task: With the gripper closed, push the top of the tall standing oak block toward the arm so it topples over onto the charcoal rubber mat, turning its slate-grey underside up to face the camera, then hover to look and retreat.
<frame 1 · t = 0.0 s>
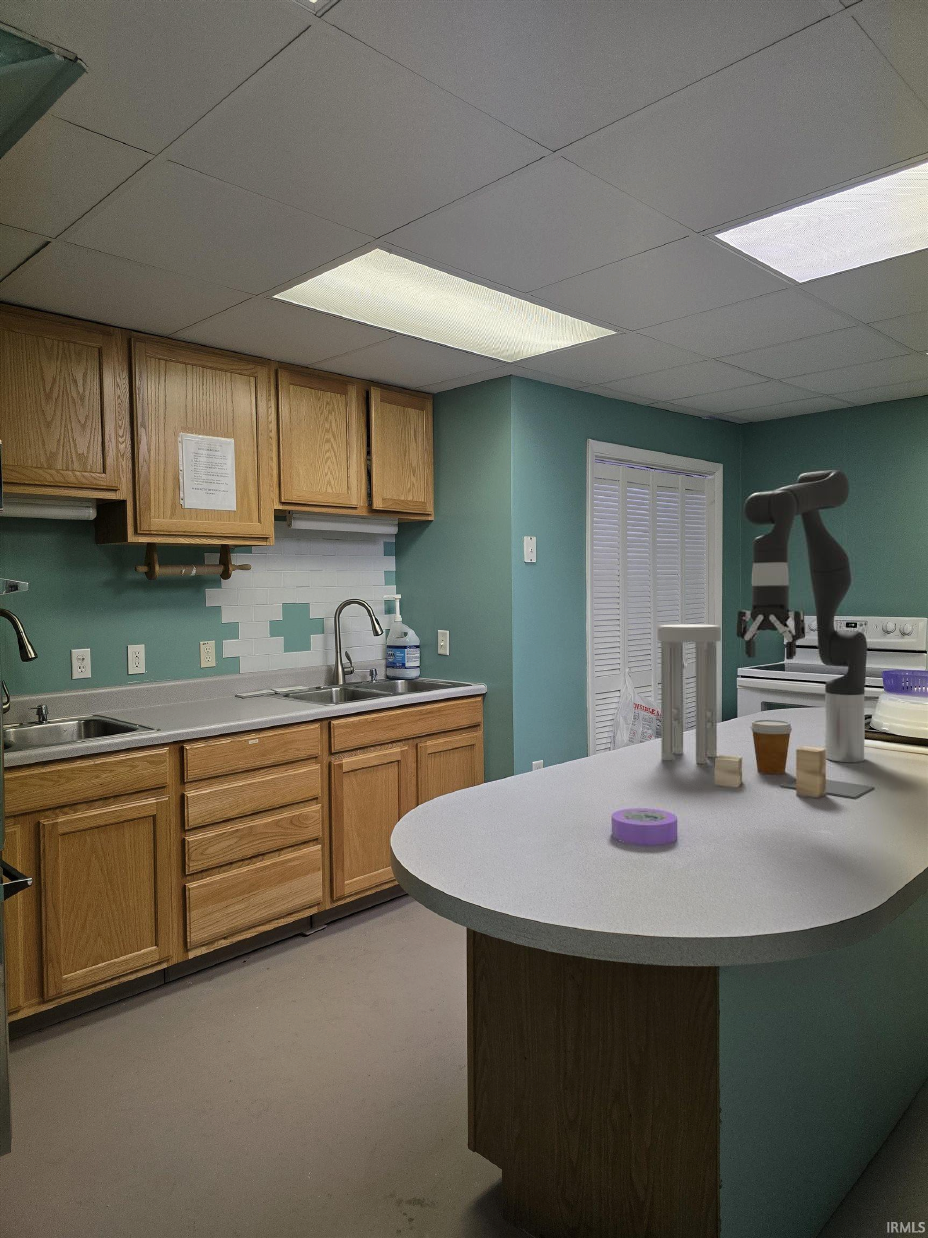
hand: (770, 658, 178), 29 cm above the table, tool pointing down, fingers open, 8 cm apart
stool: (689, 758, 216), on the table
disposable coffee cup: (771, 772, 198), on the table
mat: (826, 787, 182), on the table
maple block: (728, 783, 187), on the table
masking tape: (644, 837, 148), on the table
oak block: (810, 795, 175), on the table
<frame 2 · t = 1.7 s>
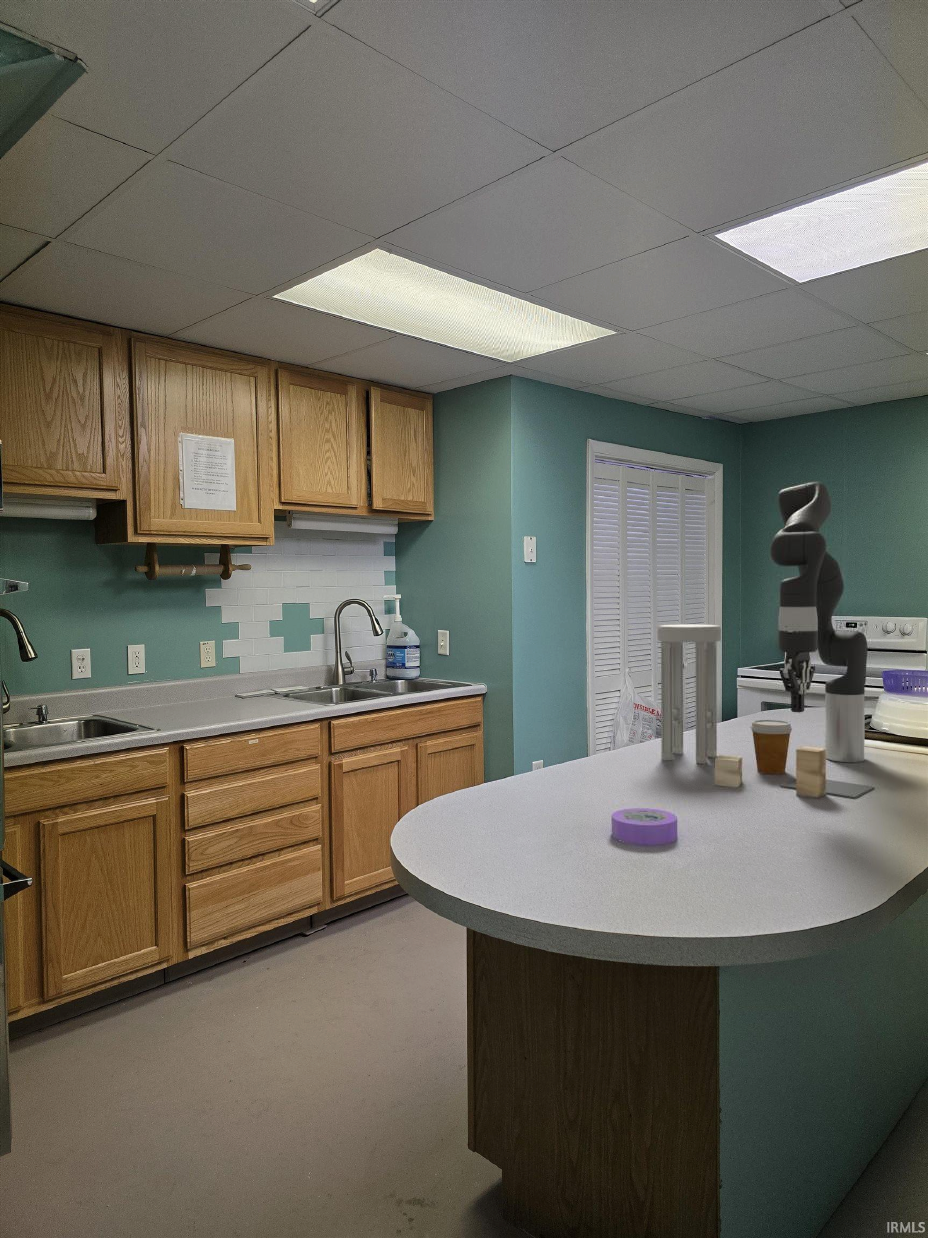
hand: (797, 711, 170), 19 cm above the table, tool pointing down, fingers closed
nothing on the table moved.
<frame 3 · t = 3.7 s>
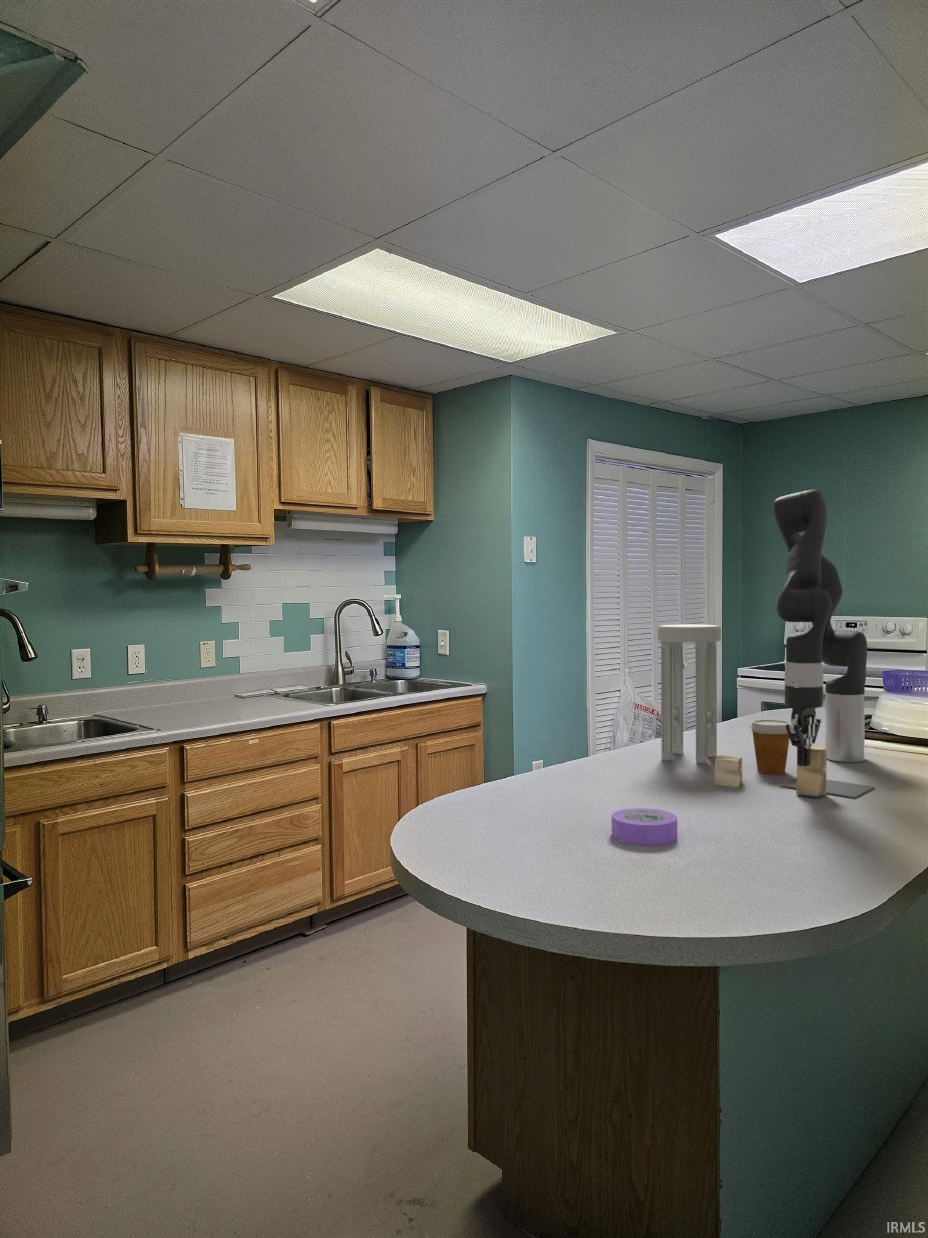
hand: (803, 765, 172), 7 cm above the table, tool pointing down, fingers closed
oak block: (810, 794, 175), on the table, touching gripper
everything else where it was.
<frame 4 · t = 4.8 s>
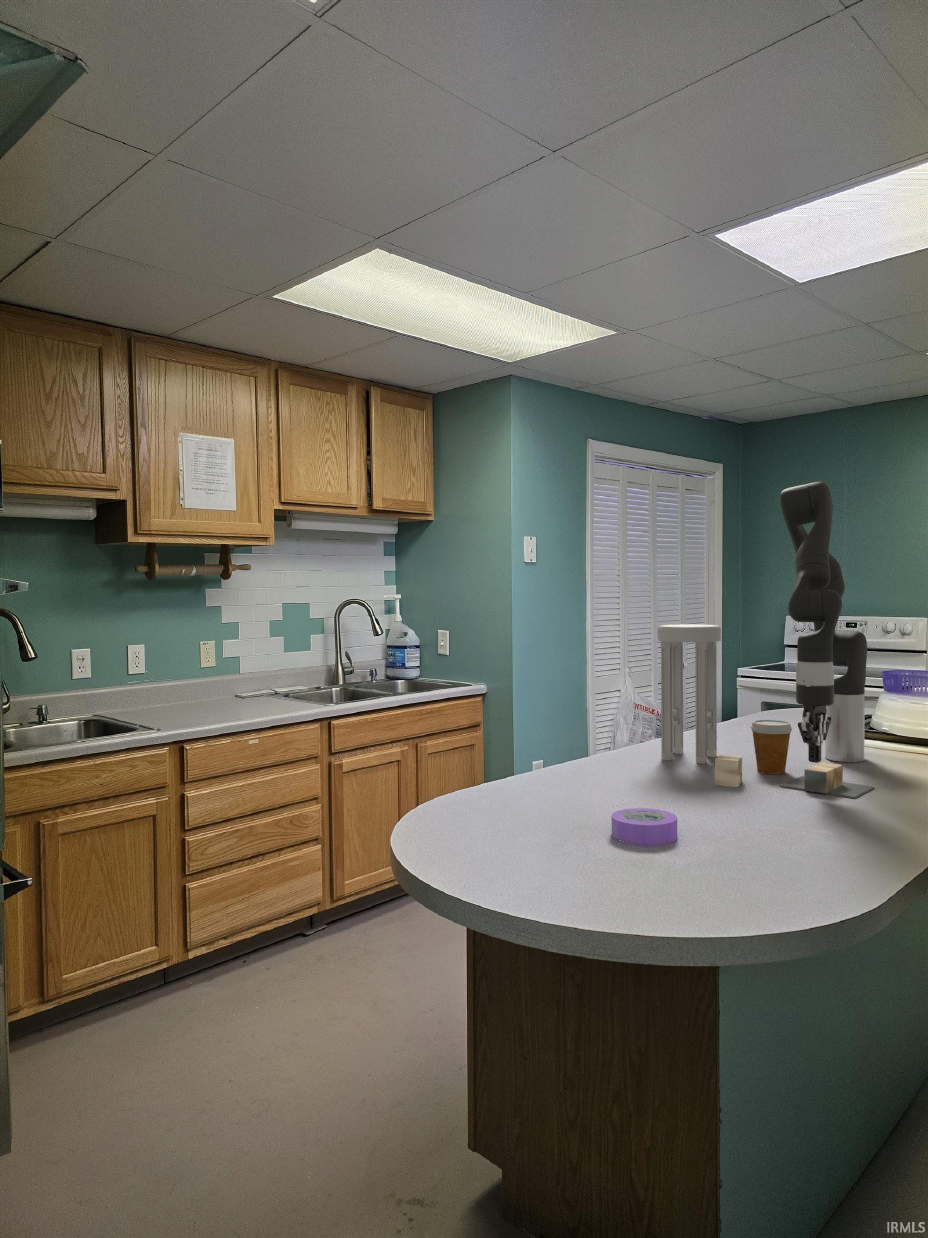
hand: (814, 761, 177), 7 cm above the table, tool pointing down, fingers closed
oak block: (814, 781, 177), point 3 cm above the table, tilted 90°, touching mat
everything else where it was.
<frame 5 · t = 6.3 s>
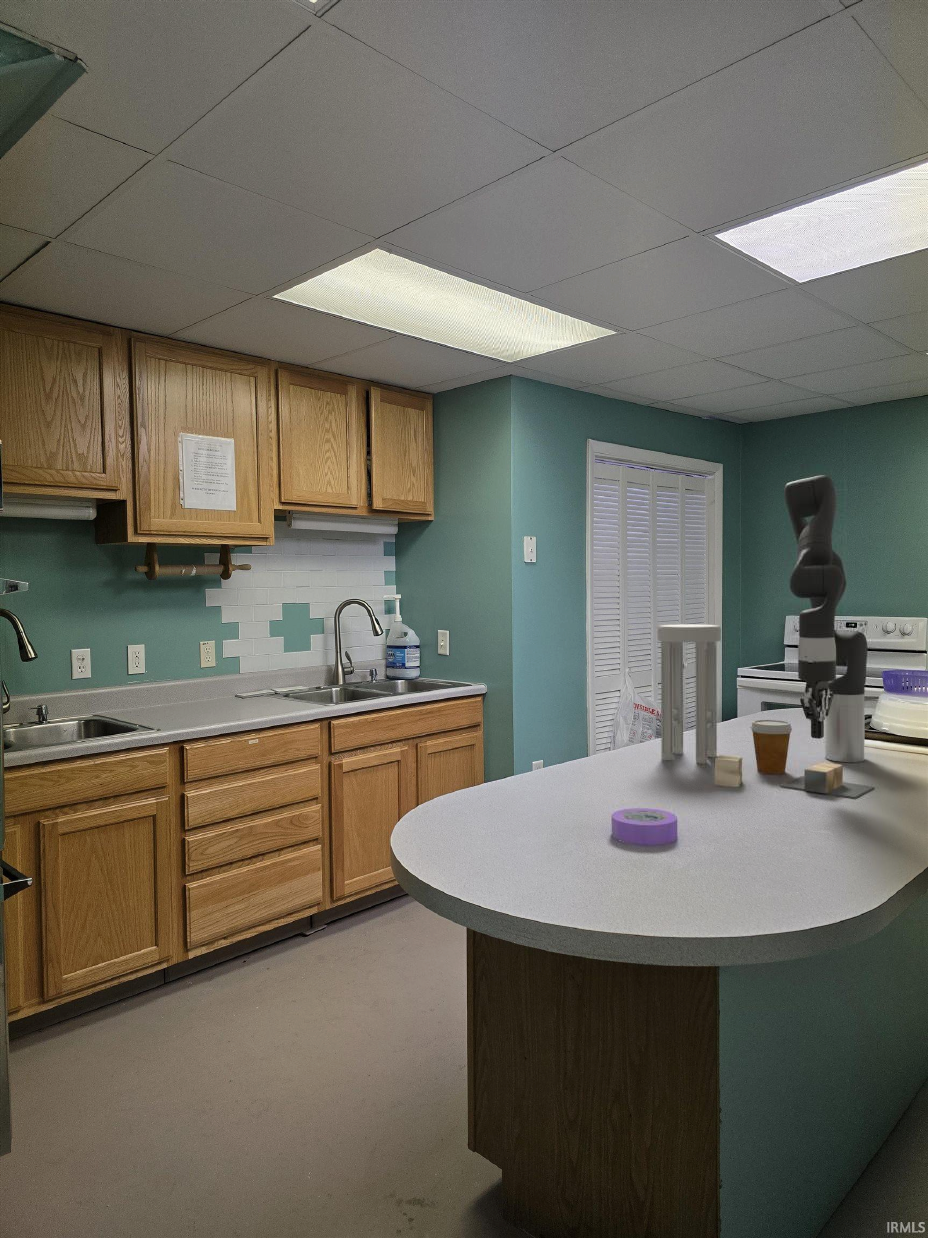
hand: (817, 737, 177), 12 cm above the table, tool pointing down, fingers closed
nothing on the table moved.
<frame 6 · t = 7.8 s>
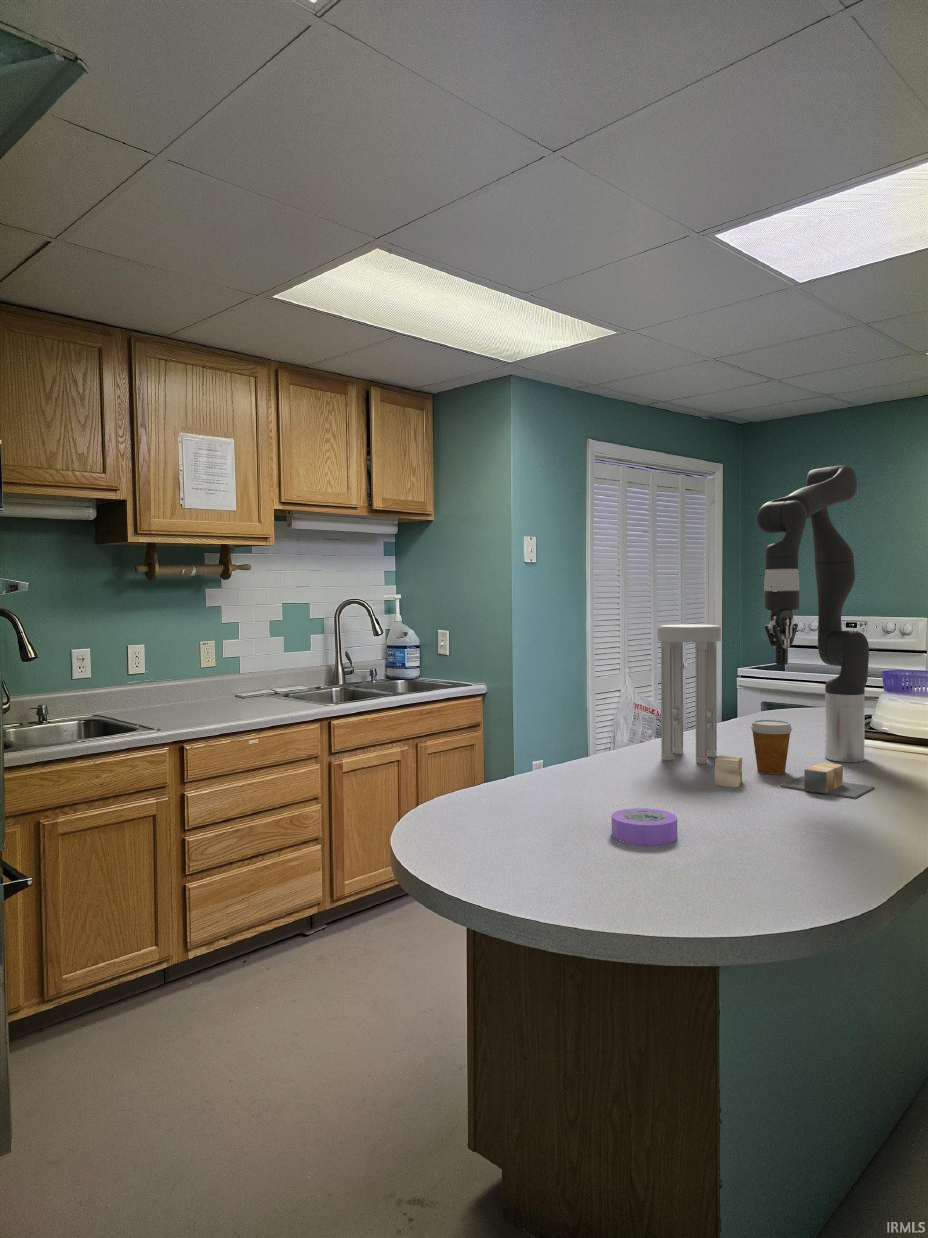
hand: (781, 664, 187), 27 cm above the table, tool pointing down, fingers closed
nothing on the table moved.
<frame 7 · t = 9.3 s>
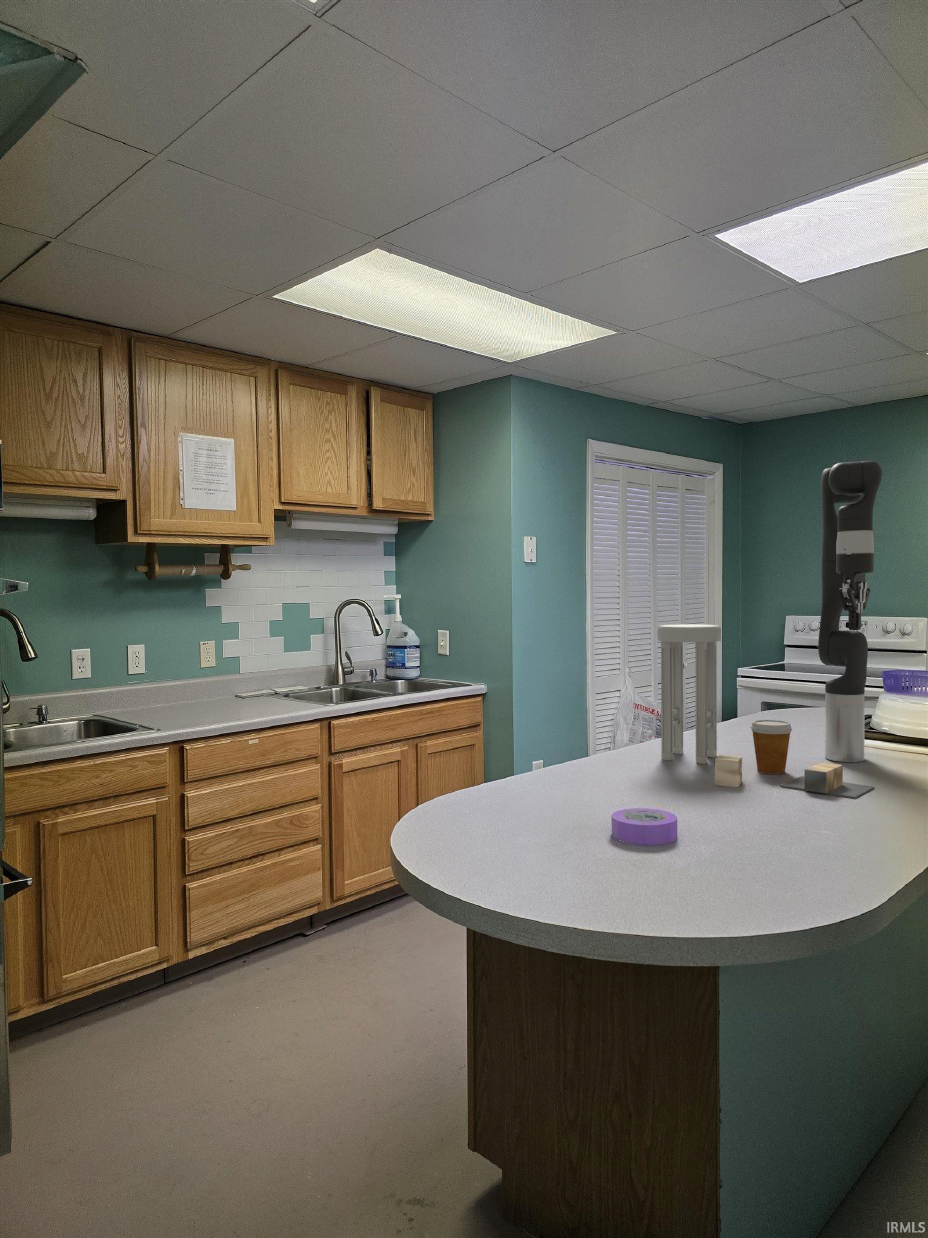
hand: (854, 630, 182), 35 cm above the table, tool pointing down, fingers closed
nothing on the table moved.
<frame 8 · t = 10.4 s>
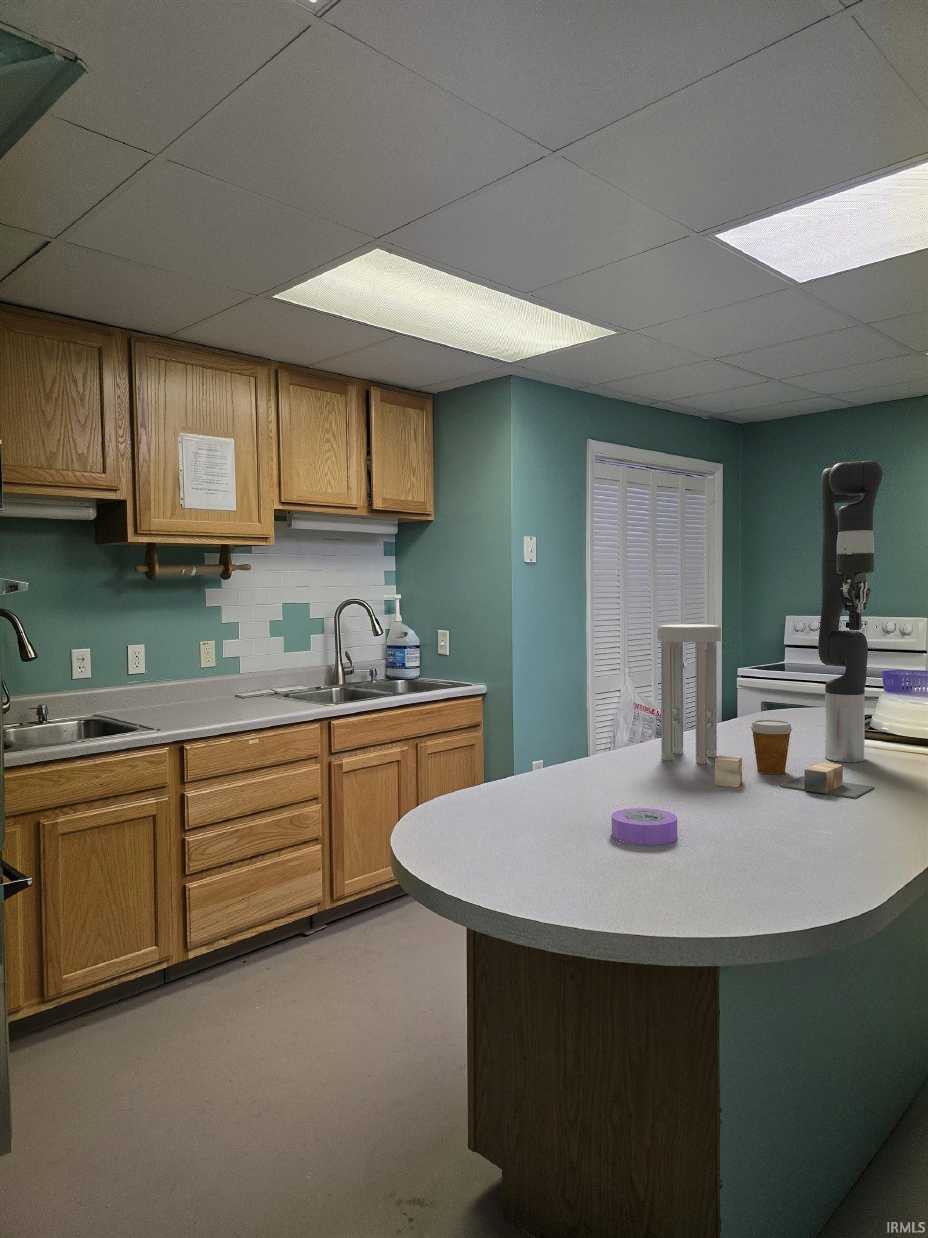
hand: (855, 630, 182), 35 cm above the table, tool pointing down, fingers closed
nothing on the table moved.
at the end: oak block tilted 90°; oak block inside the target area (0.1 cm from its centre), point 2.6 cm above the table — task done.
